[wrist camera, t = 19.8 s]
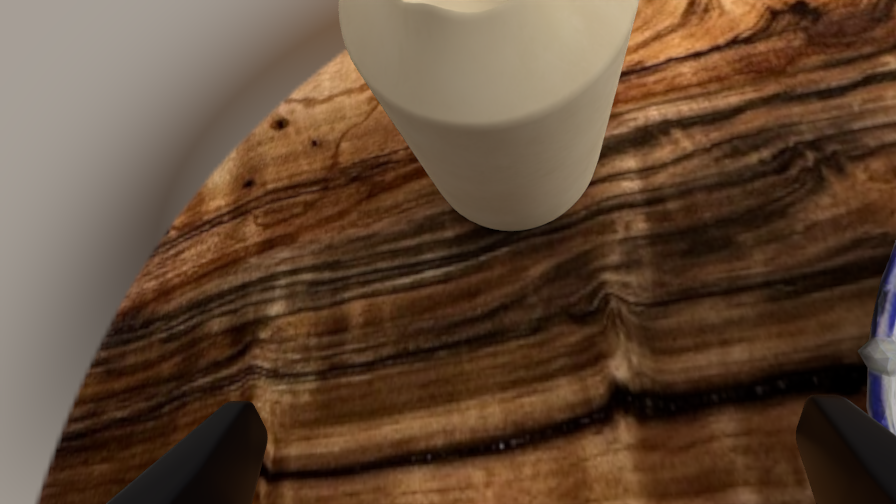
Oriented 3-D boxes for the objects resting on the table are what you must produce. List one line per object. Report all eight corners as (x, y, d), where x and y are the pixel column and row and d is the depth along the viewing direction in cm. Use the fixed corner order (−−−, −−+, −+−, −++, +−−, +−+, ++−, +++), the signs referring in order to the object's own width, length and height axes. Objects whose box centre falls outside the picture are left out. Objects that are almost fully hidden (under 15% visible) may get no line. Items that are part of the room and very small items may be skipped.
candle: (436, 81, 19) (317, -204, 9) (596, 72, 18) (654, -259, 8) (428, 233, 18) (287, 93, 8) (598, 233, 17) (666, 73, 7)
